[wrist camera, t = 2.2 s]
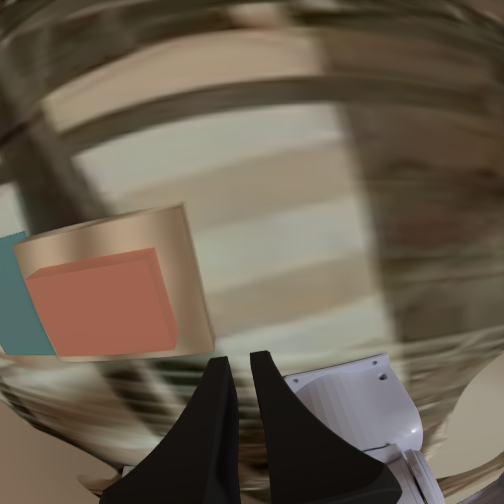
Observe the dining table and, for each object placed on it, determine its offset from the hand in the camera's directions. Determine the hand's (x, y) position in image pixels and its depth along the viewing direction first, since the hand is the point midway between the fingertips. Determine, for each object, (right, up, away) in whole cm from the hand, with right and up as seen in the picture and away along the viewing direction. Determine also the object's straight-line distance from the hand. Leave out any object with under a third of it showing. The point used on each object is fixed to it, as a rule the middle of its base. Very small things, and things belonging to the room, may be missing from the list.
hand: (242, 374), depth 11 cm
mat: (-20, 0, +10) cm, 22 cm away
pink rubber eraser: (-9, +1, +8) cm, 12 cm away
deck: (-9, +2, +10) cm, 14 cm away
